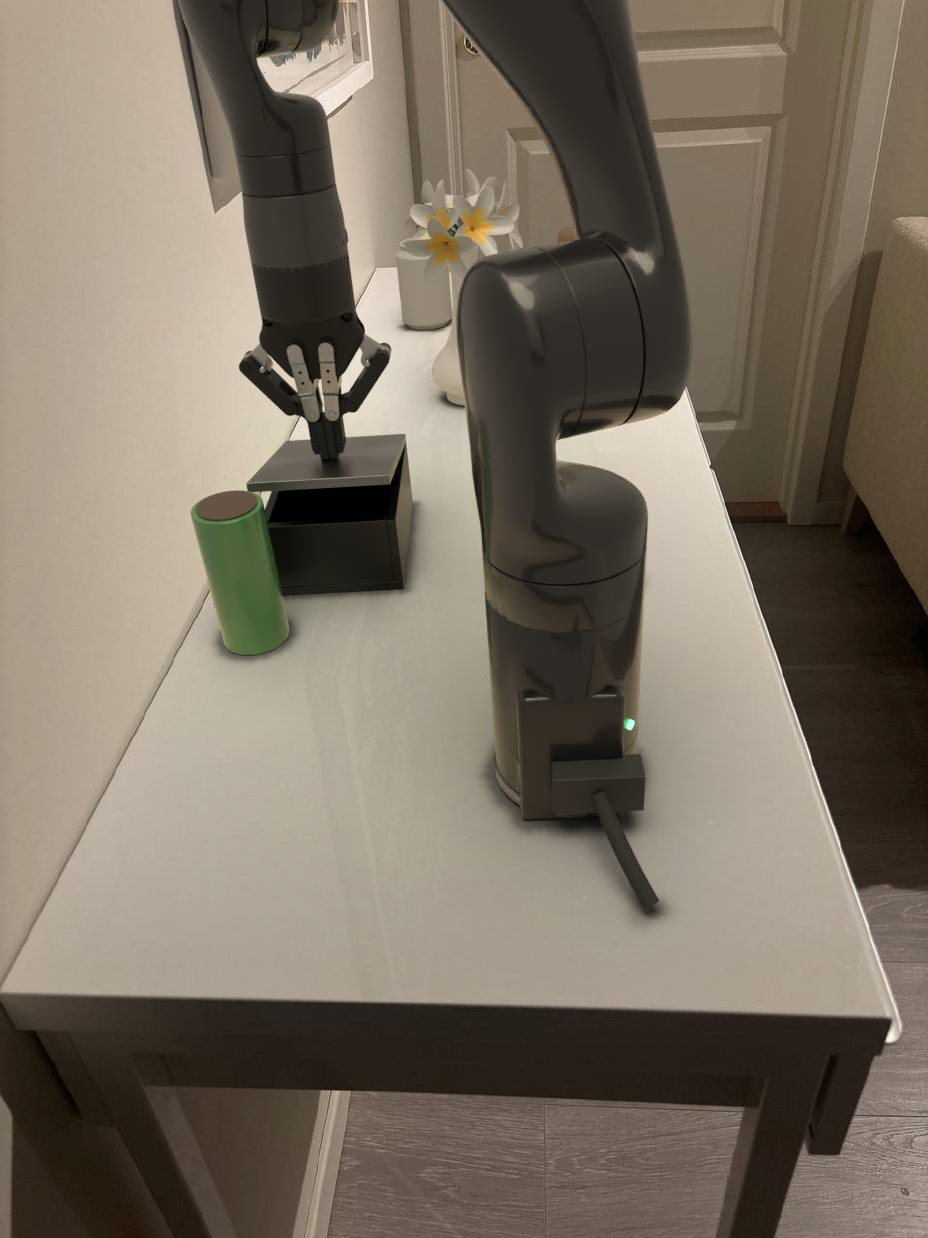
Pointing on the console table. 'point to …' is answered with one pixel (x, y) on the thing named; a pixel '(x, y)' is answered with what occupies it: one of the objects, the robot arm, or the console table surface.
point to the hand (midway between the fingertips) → (331, 456)
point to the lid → (330, 465)
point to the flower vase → (459, 250)
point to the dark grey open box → (342, 535)
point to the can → (422, 293)
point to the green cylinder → (241, 571)
